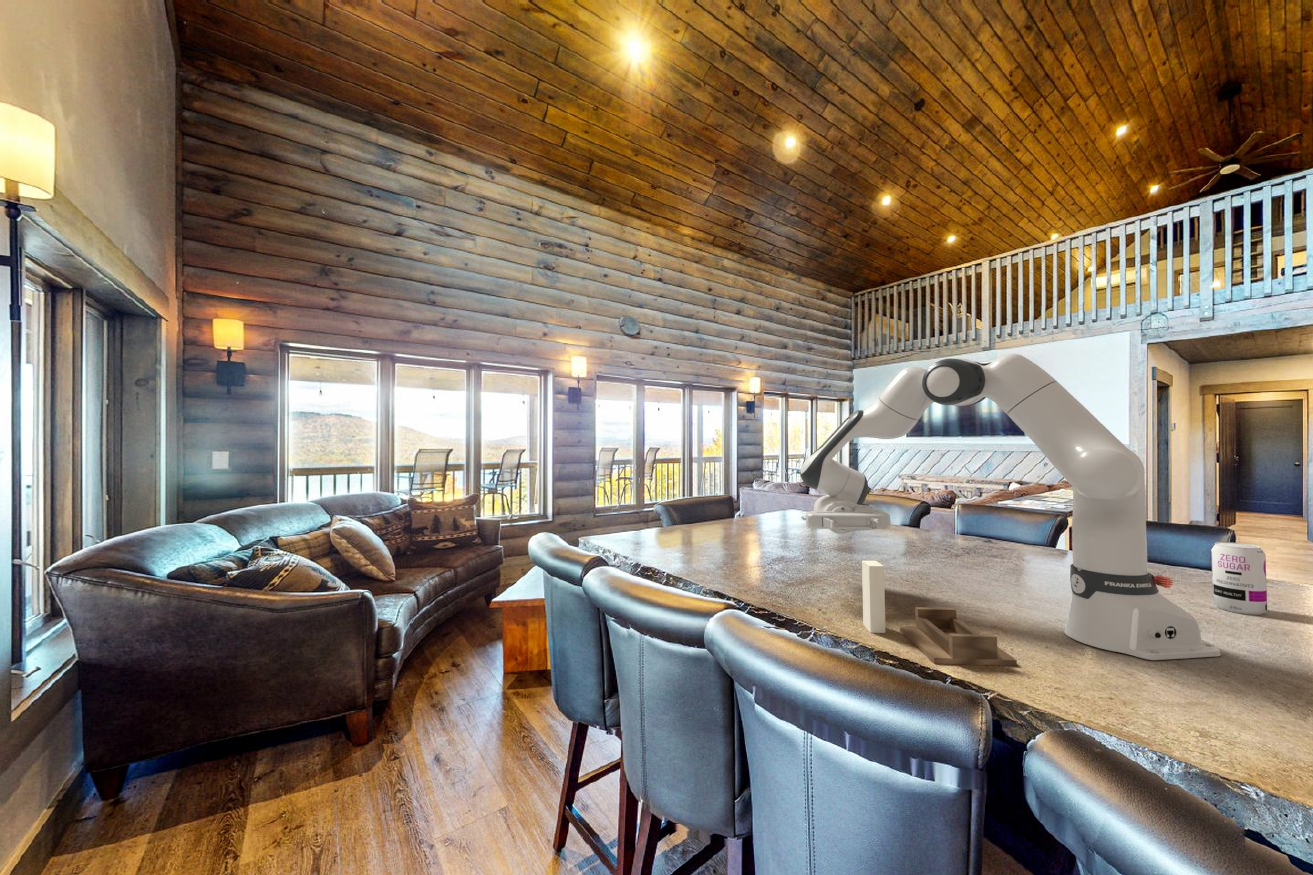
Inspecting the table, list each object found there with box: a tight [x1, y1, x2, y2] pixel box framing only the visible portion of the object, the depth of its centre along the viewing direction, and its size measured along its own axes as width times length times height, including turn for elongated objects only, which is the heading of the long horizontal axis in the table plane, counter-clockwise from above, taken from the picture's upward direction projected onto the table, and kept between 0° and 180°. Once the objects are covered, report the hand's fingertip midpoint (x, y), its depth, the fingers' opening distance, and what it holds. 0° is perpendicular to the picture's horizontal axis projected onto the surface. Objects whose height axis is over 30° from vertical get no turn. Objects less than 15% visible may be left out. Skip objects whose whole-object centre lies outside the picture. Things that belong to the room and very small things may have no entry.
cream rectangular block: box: [861, 560, 886, 634], centre depth 108 cm, size 3×5×14 cm, turn 174°
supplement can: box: [1210, 541, 1268, 616], centre depth 116 cm, size 8×8×15 cm
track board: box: [899, 606, 1018, 667], centre depth 98 cm, size 14×16×5 cm
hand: (855, 525), depth 120 cm, fingers open, 8 cm apart
